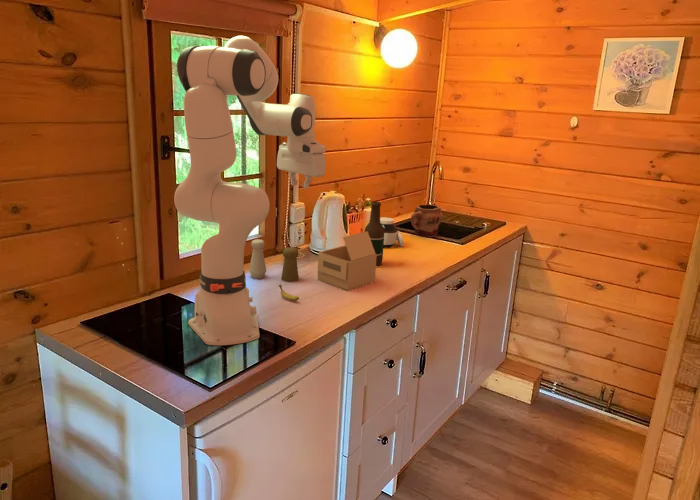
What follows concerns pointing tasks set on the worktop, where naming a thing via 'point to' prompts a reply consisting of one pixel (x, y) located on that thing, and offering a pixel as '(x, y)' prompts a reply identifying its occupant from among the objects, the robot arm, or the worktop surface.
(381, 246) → the beer bottle
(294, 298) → the banana
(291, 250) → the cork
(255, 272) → the salt shaker
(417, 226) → the decorative planter
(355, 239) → the flap
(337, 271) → the carton
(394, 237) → the spread jar
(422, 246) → the worktop surface
